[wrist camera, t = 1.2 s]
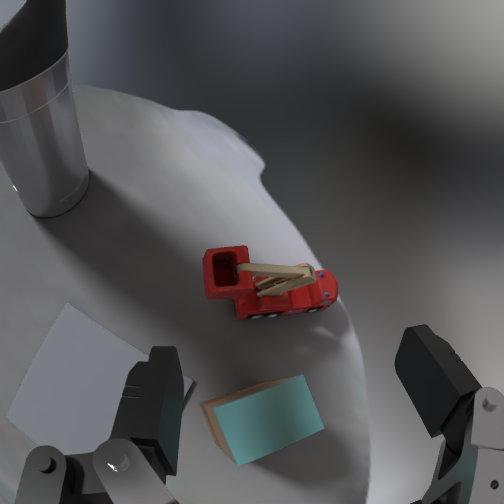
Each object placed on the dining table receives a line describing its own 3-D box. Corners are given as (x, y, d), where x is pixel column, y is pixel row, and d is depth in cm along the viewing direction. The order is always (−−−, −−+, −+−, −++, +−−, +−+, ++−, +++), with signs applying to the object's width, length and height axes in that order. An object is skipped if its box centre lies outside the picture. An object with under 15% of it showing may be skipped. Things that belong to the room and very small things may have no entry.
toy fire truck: (326, 311, 32) (378, 277, 24) (197, 324, 28) (210, 290, 20) (319, 282, 33) (367, 241, 25) (194, 290, 29) (205, 244, 21)
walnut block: (215, 442, 23) (238, 466, 15) (199, 403, 25) (214, 408, 16) (275, 420, 25) (324, 428, 17) (260, 382, 27) (303, 374, 18)
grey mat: (7, 416, 18) (5, 417, 18) (68, 303, 25) (66, 302, 25) (130, 501, 18) (130, 502, 18) (193, 380, 25) (193, 379, 25)
